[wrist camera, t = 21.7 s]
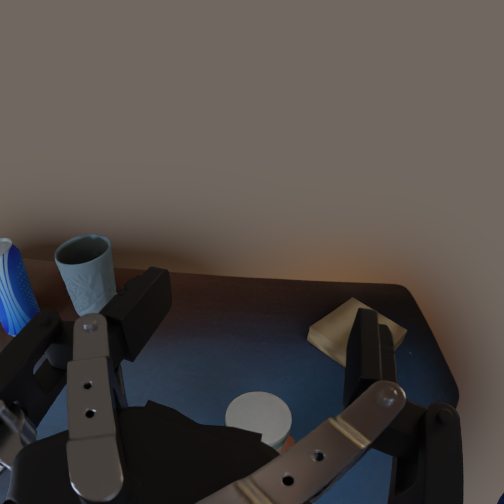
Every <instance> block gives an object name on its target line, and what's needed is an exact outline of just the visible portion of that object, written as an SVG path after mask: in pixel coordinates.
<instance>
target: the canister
mask: <svg viewBox="0 0 504 504" xmlns="http://www.w3.org/2000/svg"><path fill="white" fill-rule="evenodd" d="M291 423H292V416H291V412H290V409H289V408H288V406H287V405H286V403H285V402H284V401H283V400H281V399H280V398H278V397H277V396H275V395H273V394H270V393H266V392H249V393H245V394H243V395H240V396H239V397H237V398H236V399H234V400H233V401H232V402H231V403H230V405H229V406H228V408H227V411H226V416H225V426H232V427H236V428H240V429H244V430H249V431H253V432H257V433H262V439H261V442H264V443H266V444H267V445H269V446H271V447H272V448H274V449H275V450H276V451H277V452H279V453H280V454H281V453H282V450H283V447H284V444H285V441H286V439H287V437H288V434H289V431H290V428H291Z"/></svg>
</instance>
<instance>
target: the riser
mask: <svg viewBox="0 0 504 504" xmlns="http://www.w3.org/2000/svg"><path fill="white" fill-rule="evenodd" d="M358 308H365V309H371V308H369V307H368V306H366V305H364V304H363V303H361V302H359V301H358V300H356V299H354V298H351V299H350V300H348V301H347V302H346V303H344V304H343V305H341V306H340V307H338V308H337V309H336V310H334V311H333V312H331V313H330V314H328V315H327V316H325V317H324V318H323V319H321V320H320V321H318V322H317V323H315V324H314V325H312V326H311V327H310V329H309V333H308V338H307V341H309V342H310V343H311V344H313V345H314V346H316V347H317V348H318V349H320V350H321V351H322V352H324V353H325V354H327V355H328V356H329V357H331V358H332V359H333V360H335V361H336V362H338V363H339V364H340V365H342V366H343V367H345V366H346V348H347V342H348V338H349V335H350V332H351V329H352V326H353V323H354V320H355V317H356V314H357V311H358ZM372 310H373V309H372ZM377 313H378V312H377ZM378 323H379V324H385V325H387V326H388V327H389V329H390V331H391V332H392V334H393V339H394V348H395V350H396V349H397V348H398V347H399V345H400V344H401V343H402V341H403V339H404V337H405V335H406V333H407V330H406V329H404V328H402V327H401V326H399V325H398V324H396V323H394V322H393V321H391V320H389V319H388V318H386V317H384V316H383V315H381V314H379V313H378Z"/></svg>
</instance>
